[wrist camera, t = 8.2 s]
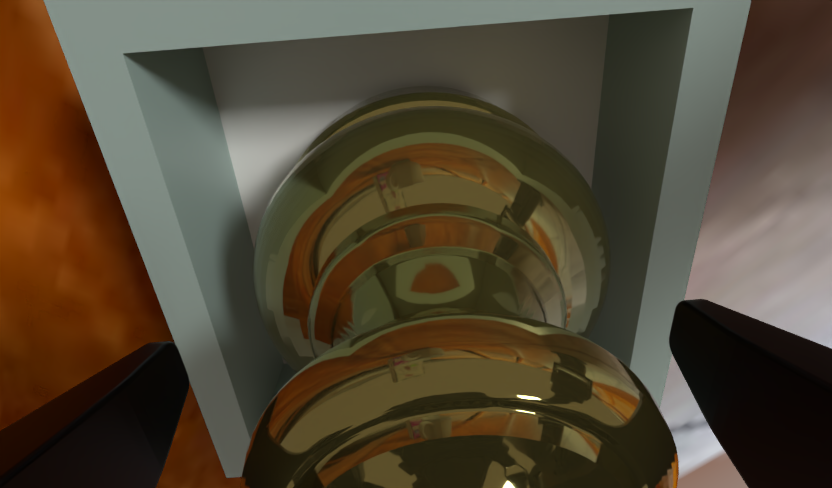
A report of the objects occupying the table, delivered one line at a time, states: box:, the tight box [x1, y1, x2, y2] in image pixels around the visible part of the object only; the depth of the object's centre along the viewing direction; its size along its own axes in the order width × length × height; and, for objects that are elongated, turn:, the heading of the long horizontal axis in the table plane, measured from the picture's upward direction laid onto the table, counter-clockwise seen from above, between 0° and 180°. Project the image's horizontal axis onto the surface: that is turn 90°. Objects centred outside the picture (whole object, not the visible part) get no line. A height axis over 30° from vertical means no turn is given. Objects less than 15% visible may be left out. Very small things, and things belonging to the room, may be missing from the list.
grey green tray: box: [44, 0, 751, 478], centre depth 12 cm, size 16×14×4 cm
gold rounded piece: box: [240, 86, 679, 488], centre depth 9 cm, size 7×8×10 cm
